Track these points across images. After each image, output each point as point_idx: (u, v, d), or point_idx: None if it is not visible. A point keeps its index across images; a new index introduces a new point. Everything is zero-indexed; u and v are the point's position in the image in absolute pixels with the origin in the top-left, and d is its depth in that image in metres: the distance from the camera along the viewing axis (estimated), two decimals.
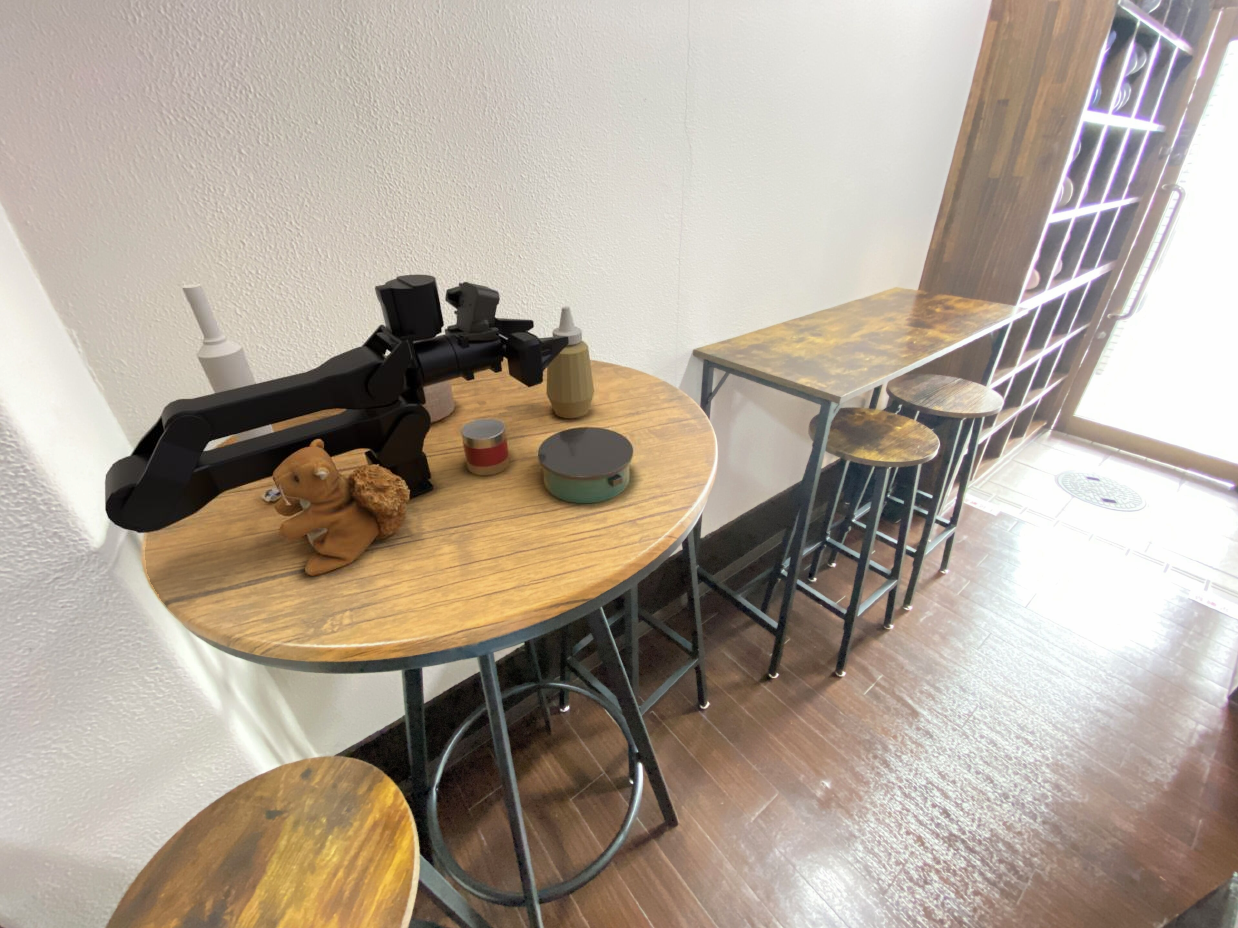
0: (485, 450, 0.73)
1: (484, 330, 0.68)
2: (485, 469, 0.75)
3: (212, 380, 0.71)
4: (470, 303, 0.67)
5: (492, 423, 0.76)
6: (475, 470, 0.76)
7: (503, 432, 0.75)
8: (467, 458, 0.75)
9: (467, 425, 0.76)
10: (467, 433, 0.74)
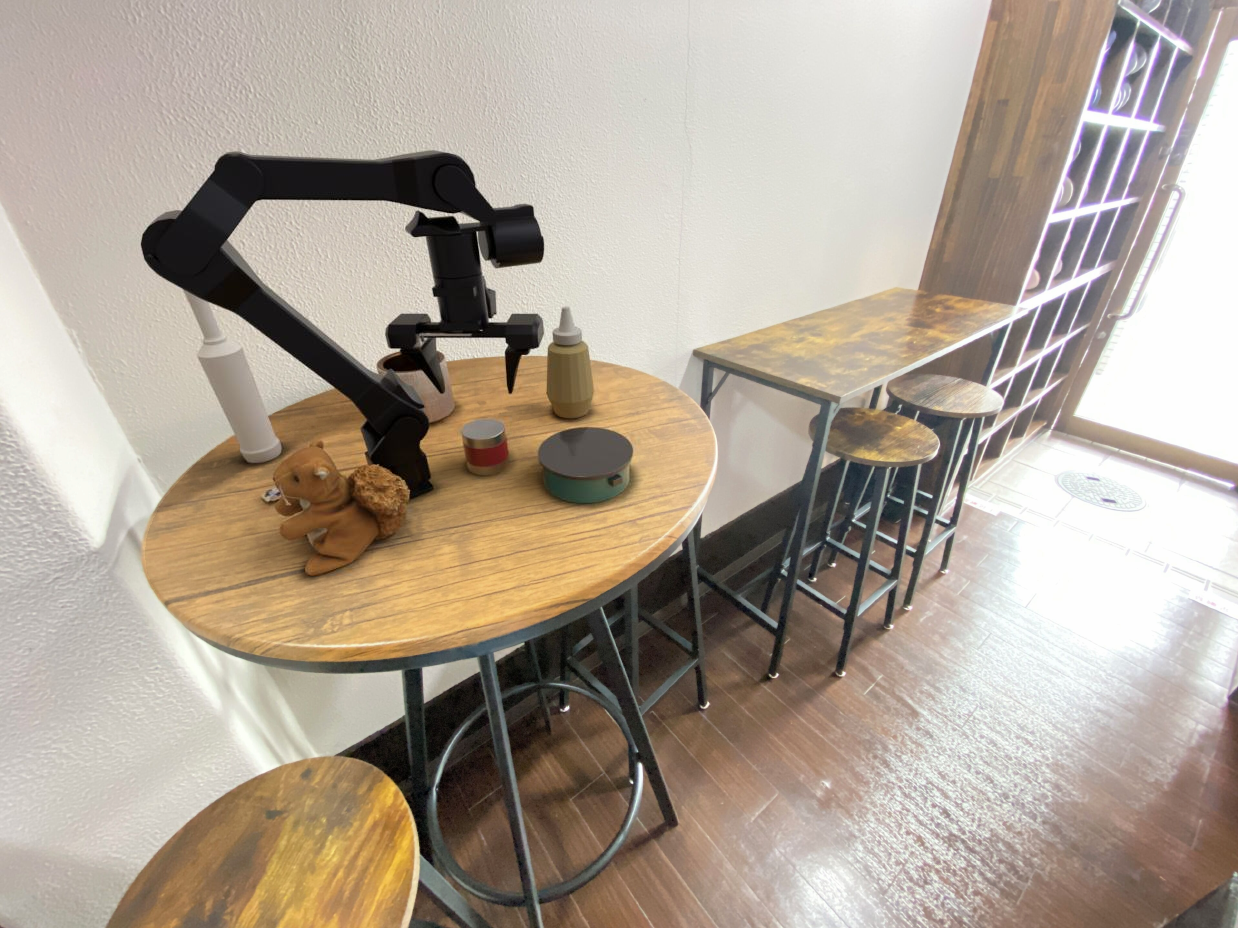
0: (485, 450, 0.73)
1: None
2: (485, 469, 0.75)
3: (212, 380, 0.71)
4: None
5: (492, 423, 0.76)
6: (475, 470, 0.76)
7: (503, 432, 0.75)
8: (467, 458, 0.75)
9: (467, 425, 0.76)
10: (467, 433, 0.74)
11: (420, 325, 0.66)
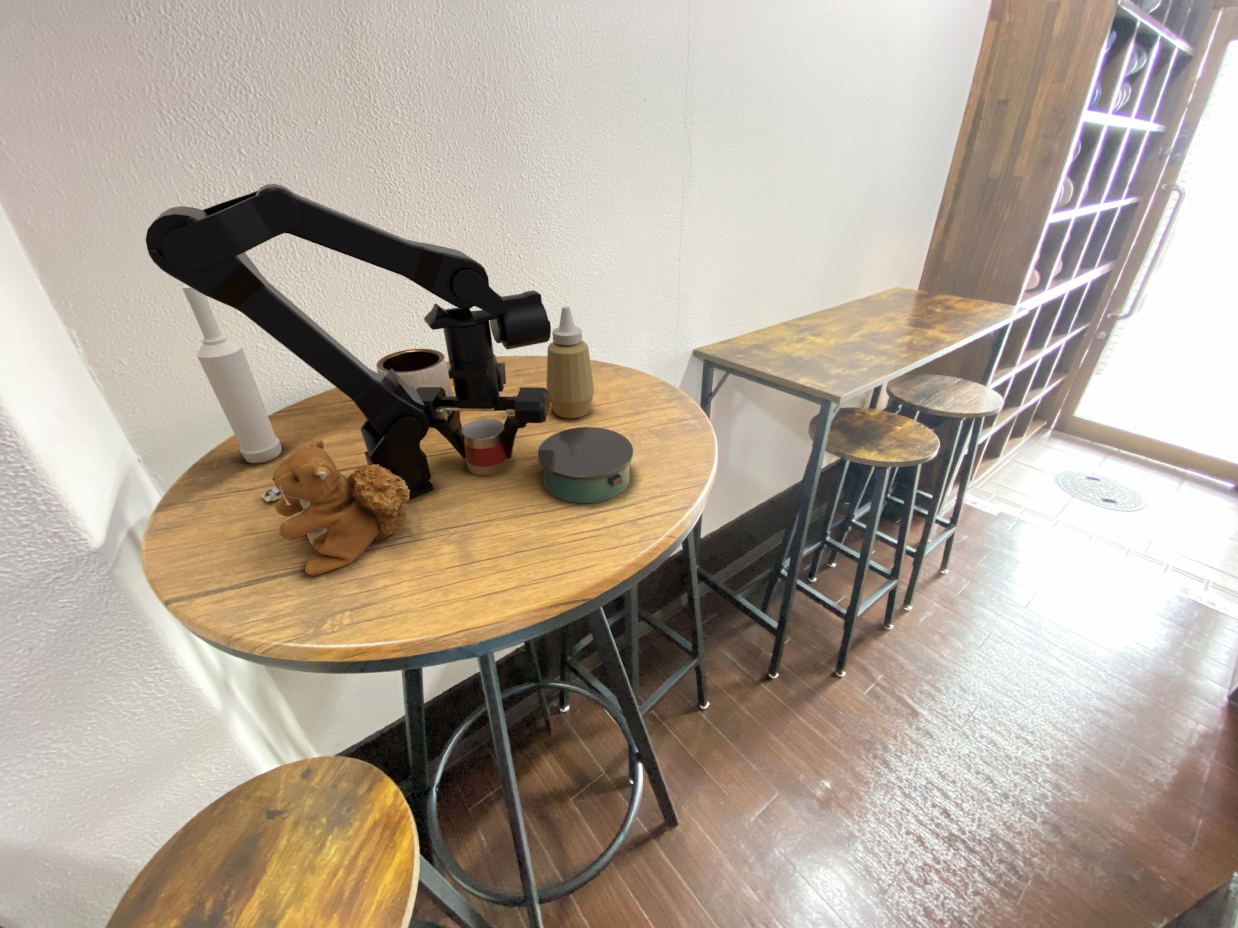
0: (485, 450, 0.73)
1: None
2: (485, 469, 0.75)
3: (212, 380, 0.71)
4: None
5: (492, 423, 0.76)
6: (475, 470, 0.76)
7: (503, 432, 0.75)
8: (467, 458, 0.75)
9: (467, 425, 0.76)
10: (467, 433, 0.74)
11: (436, 400, 0.72)
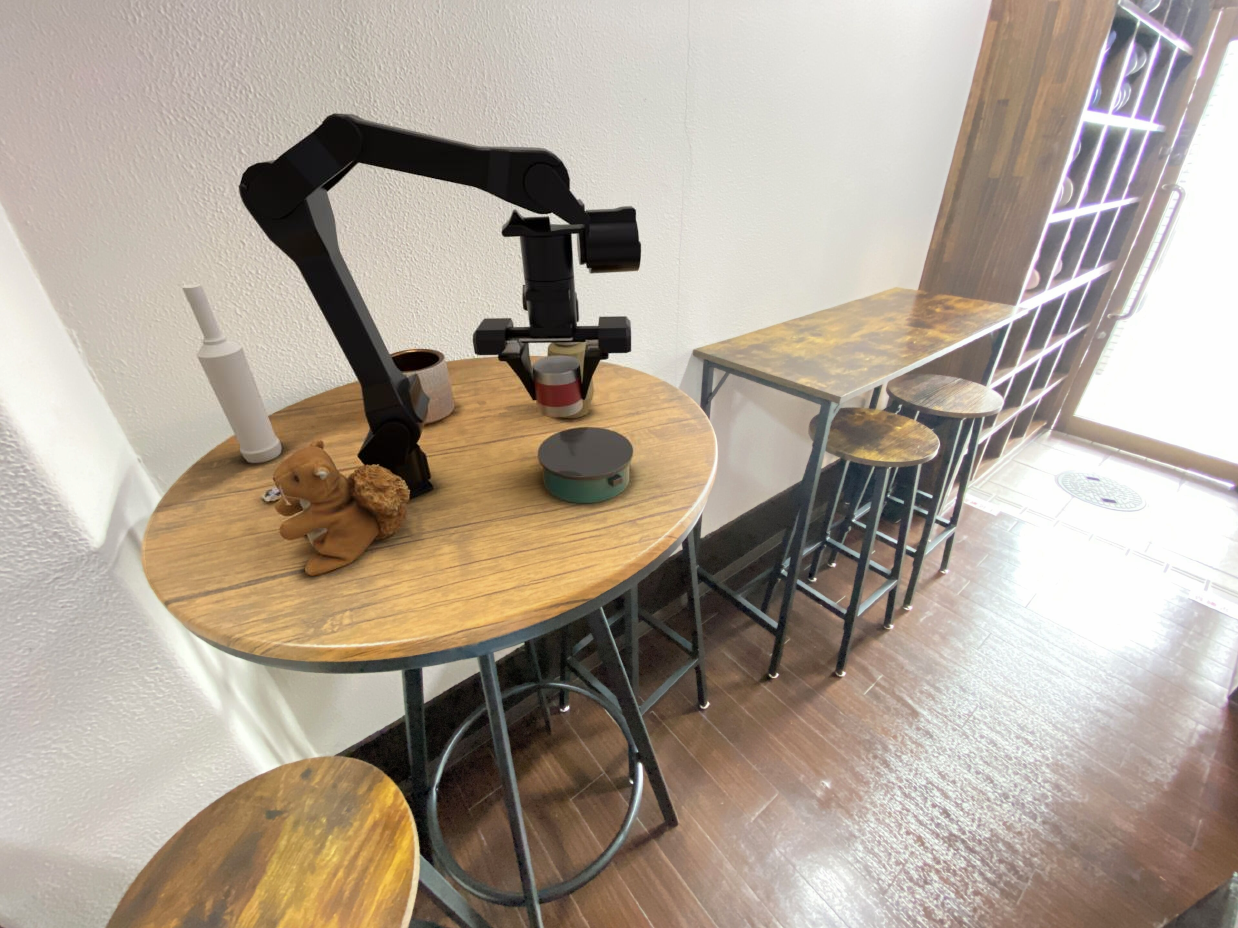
0: (560, 387, 0.65)
1: None
2: (559, 410, 0.67)
3: (212, 380, 0.71)
4: None
5: (565, 359, 0.68)
6: (548, 411, 0.68)
7: (579, 368, 0.67)
8: (539, 398, 0.67)
9: (538, 361, 0.68)
10: (539, 369, 0.66)
11: (507, 330, 0.64)
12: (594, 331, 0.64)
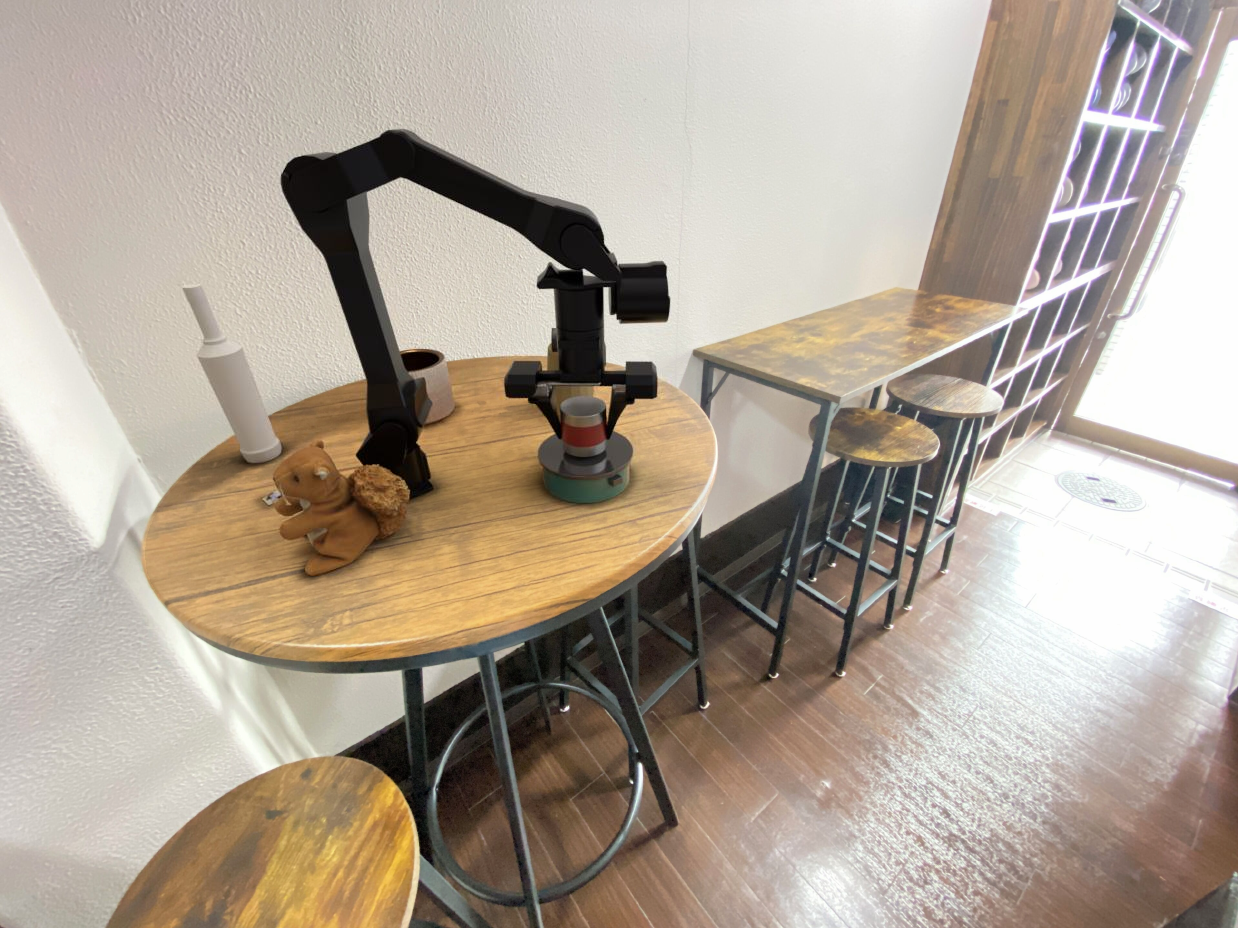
0: (587, 428, 0.68)
1: None
2: (585, 450, 0.69)
3: (212, 380, 0.71)
4: None
5: (592, 400, 0.70)
6: (573, 451, 0.70)
7: (605, 410, 0.69)
8: (565, 438, 0.69)
9: (565, 402, 0.70)
10: (567, 410, 0.68)
11: (537, 374, 0.66)
12: (621, 376, 0.66)
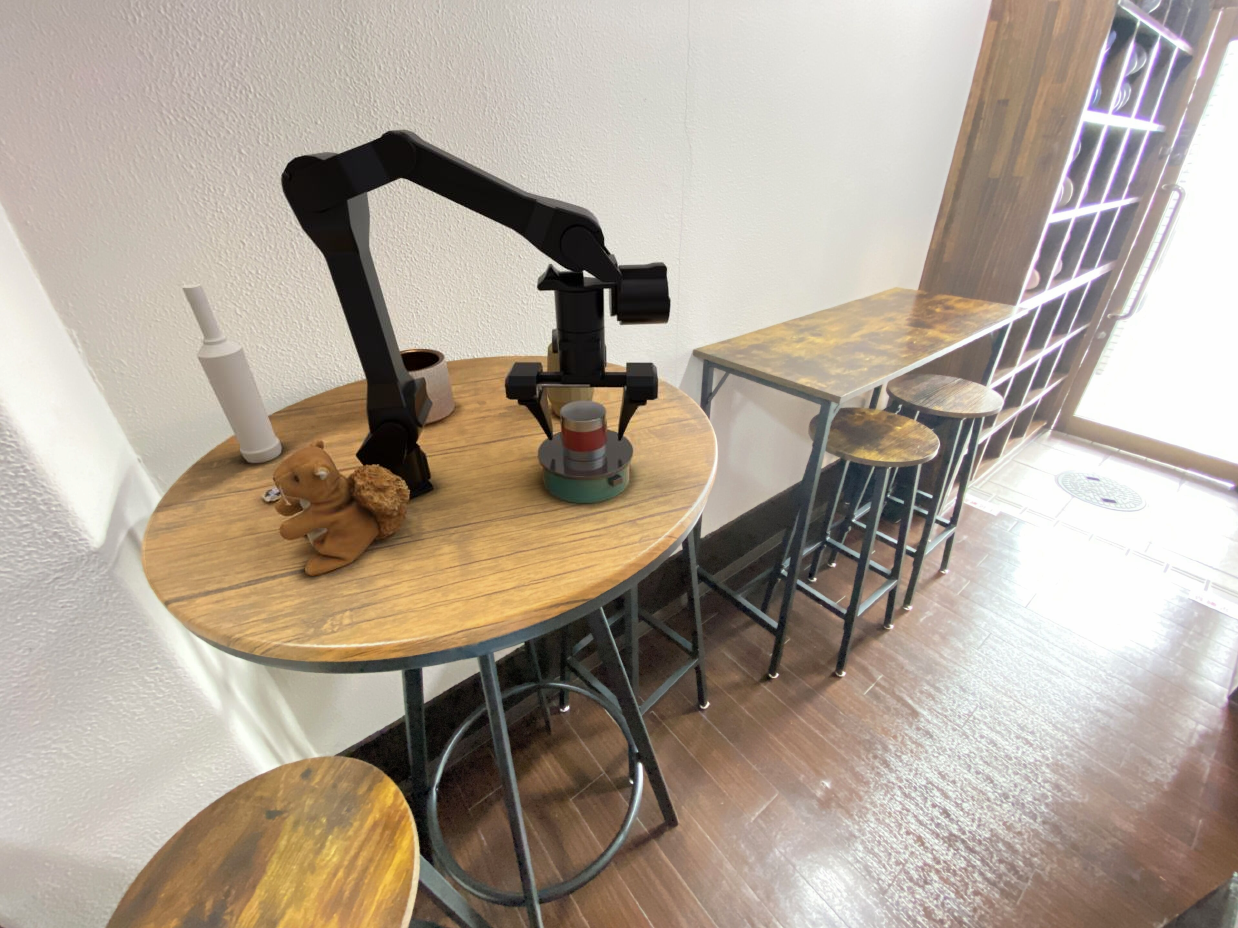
0: (587, 433, 0.68)
1: None
2: (585, 454, 0.70)
3: (212, 380, 0.71)
4: None
5: (592, 405, 0.71)
6: (574, 456, 0.70)
7: (605, 414, 0.69)
8: (565, 443, 0.70)
9: (565, 407, 0.70)
10: (567, 415, 0.68)
11: (538, 375, 0.66)
12: (622, 377, 0.66)
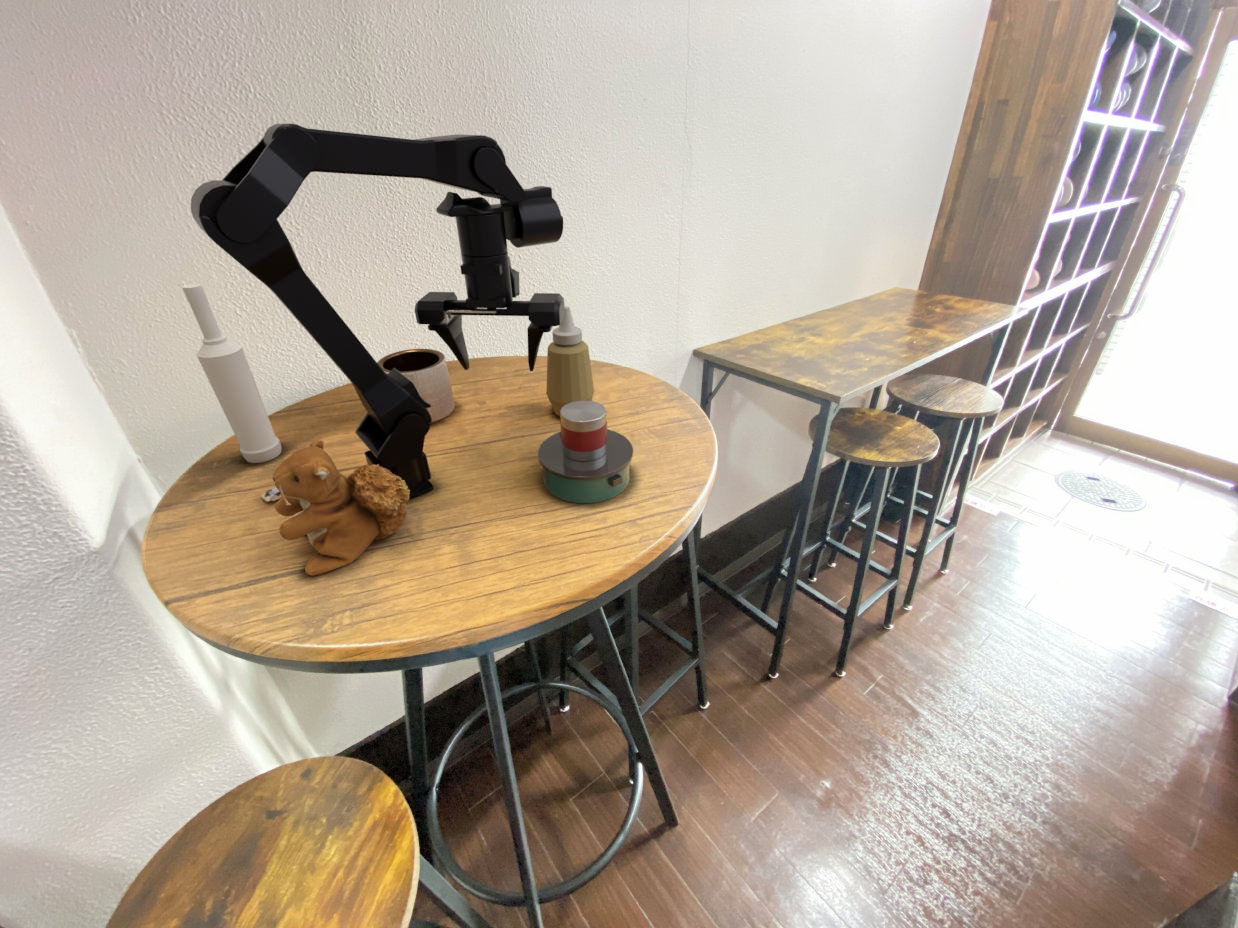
0: (587, 433, 0.68)
1: None
2: (585, 454, 0.70)
3: (212, 380, 0.71)
4: None
5: (592, 405, 0.71)
6: (574, 456, 0.70)
7: (605, 414, 0.69)
8: (565, 443, 0.70)
9: (565, 407, 0.70)
10: (567, 415, 0.68)
11: (447, 302, 0.69)
12: (527, 306, 0.69)
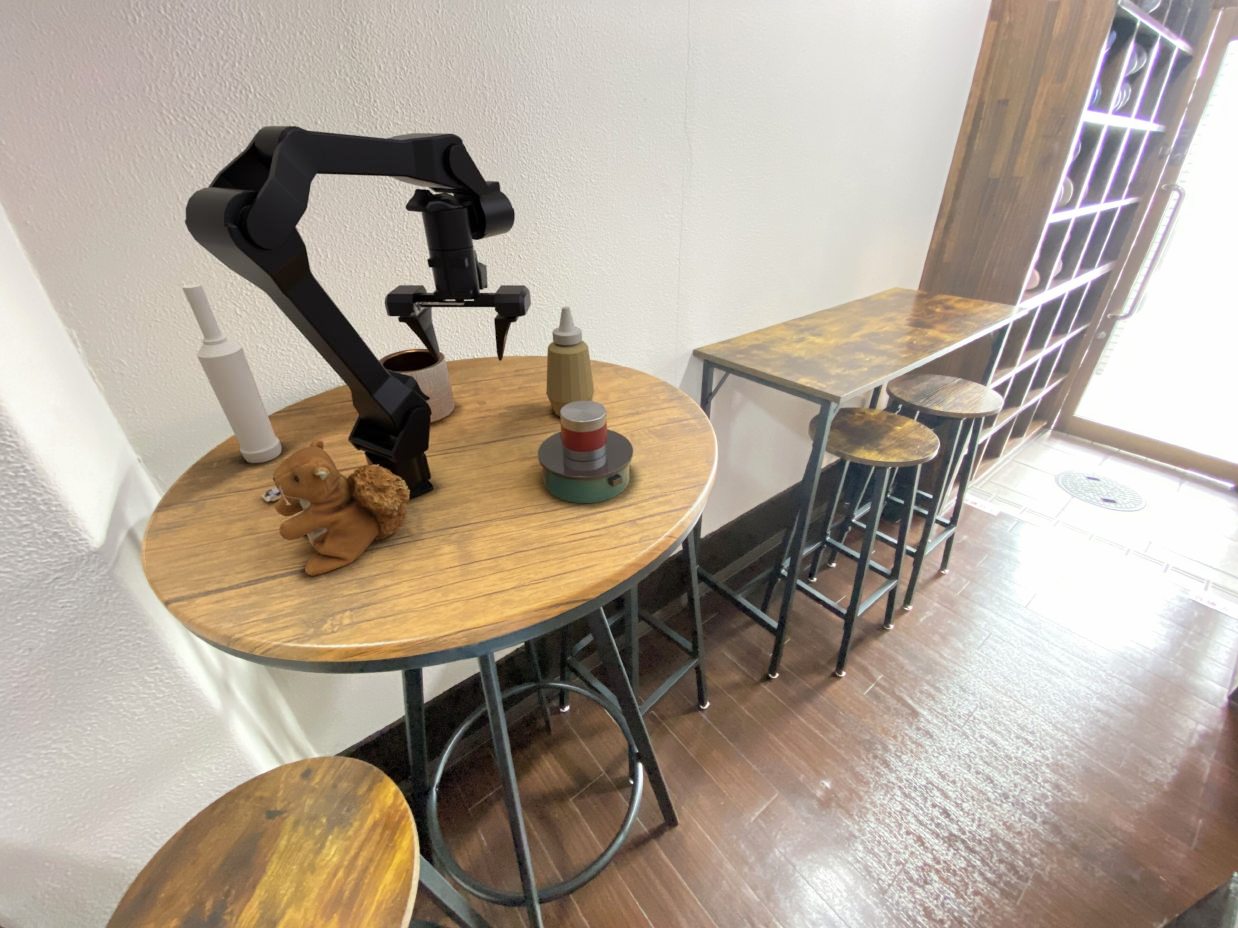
0: (587, 433, 0.68)
1: None
2: (585, 454, 0.70)
3: (212, 380, 0.71)
4: None
5: (592, 405, 0.71)
6: (574, 456, 0.70)
7: (605, 414, 0.69)
8: (565, 443, 0.70)
9: (565, 407, 0.70)
10: (567, 415, 0.68)
11: (417, 295, 0.72)
12: (494, 297, 0.72)
